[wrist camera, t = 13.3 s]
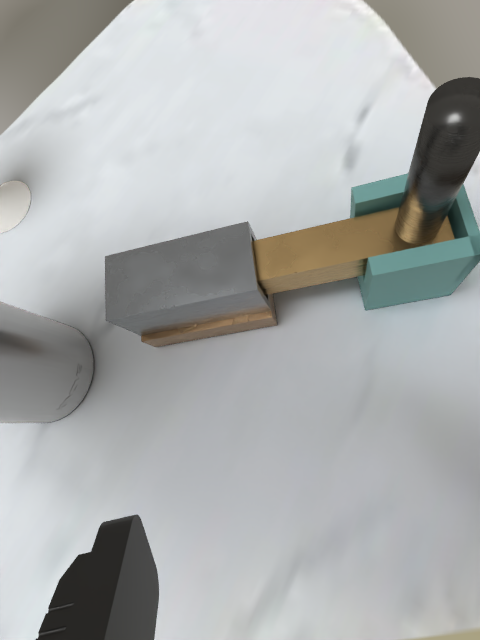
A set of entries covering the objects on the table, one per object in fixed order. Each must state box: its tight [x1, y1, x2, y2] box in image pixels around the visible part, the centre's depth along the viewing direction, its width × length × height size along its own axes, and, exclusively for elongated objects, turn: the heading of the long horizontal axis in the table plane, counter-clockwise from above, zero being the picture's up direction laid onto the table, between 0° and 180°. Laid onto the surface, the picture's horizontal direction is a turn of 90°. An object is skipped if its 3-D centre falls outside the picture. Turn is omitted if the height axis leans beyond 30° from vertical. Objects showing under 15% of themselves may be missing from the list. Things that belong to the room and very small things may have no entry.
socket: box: [350, 173, 480, 310], centre depth 26 cm, size 6×6×8 cm
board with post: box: [252, 77, 480, 295], centre depth 21 cm, size 14×3×12 cm, turn 97°
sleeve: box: [105, 222, 277, 347], centre depth 29 cm, size 11×6×8 cm, turn 97°
